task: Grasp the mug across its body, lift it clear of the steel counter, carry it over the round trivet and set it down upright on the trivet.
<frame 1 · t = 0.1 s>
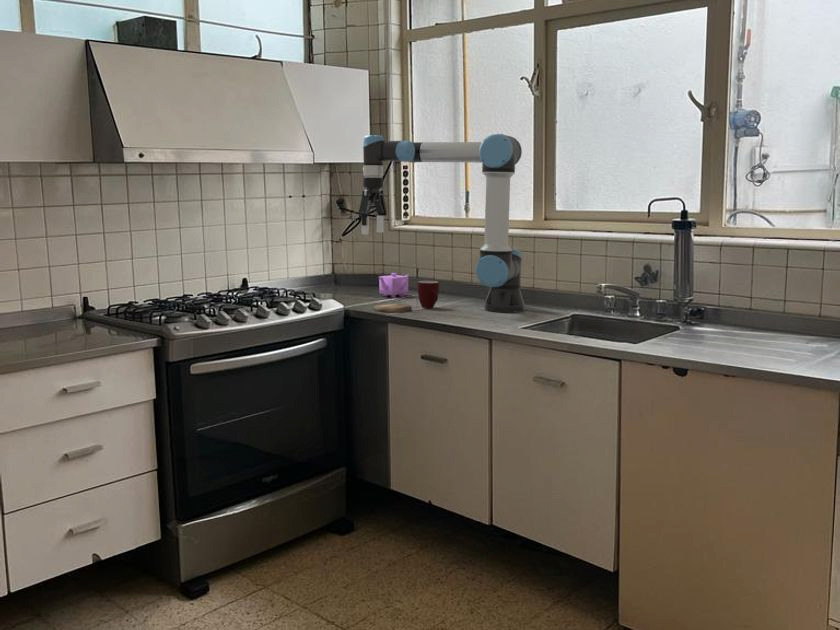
hand: (372, 233, 329), 28 cm above the worktop, fingers open, 13 cm apart
trivet: (392, 309, 324), on the worktop
mug: (429, 308, 330), on the worktop
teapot: (394, 296, 362), on the worktop
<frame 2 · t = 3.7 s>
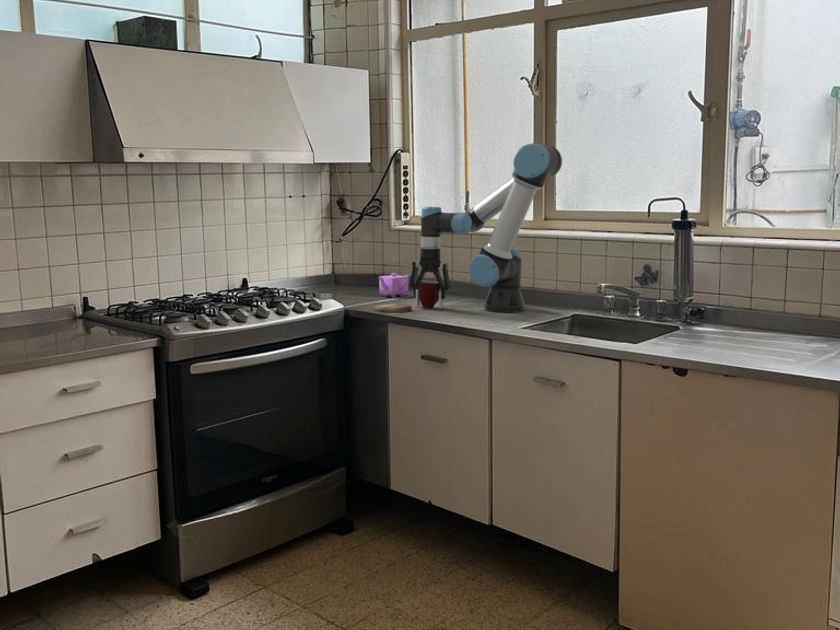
hand: (429, 306, 330), 1 cm above the worktop, fingers closed on mug, 9 cm apart
mug: (429, 308, 330), on the worktop, touching gripper
everything else where it was.
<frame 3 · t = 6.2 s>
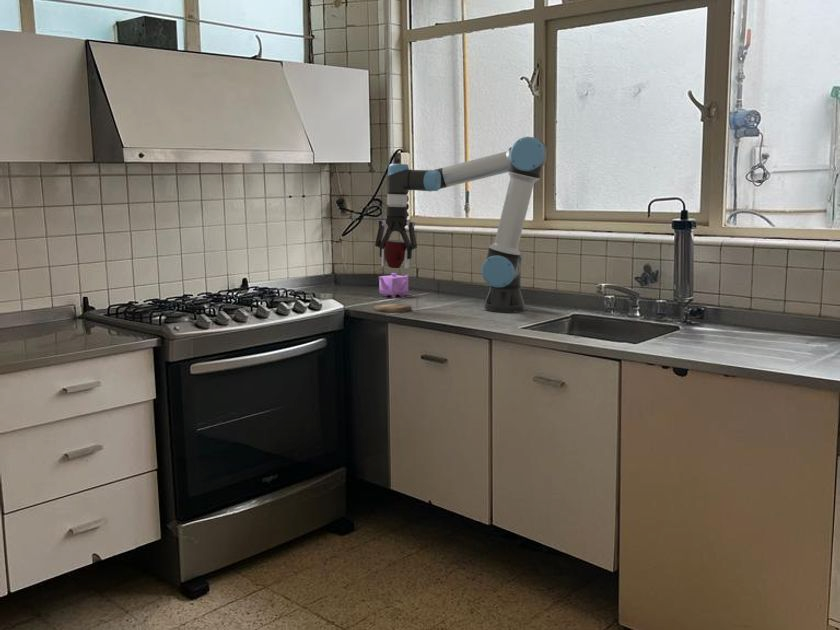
hand: (395, 266, 323), 16 cm above the worktop, fingers closed on mug, 9 cm apart
mug: (395, 268, 323), point 15 cm above the worktop, touching gripper
everything else where it was.
when the fingers open (3 cm above the worktop, at t = 9.1 s): mug drops 1 cm, resting on trivet.
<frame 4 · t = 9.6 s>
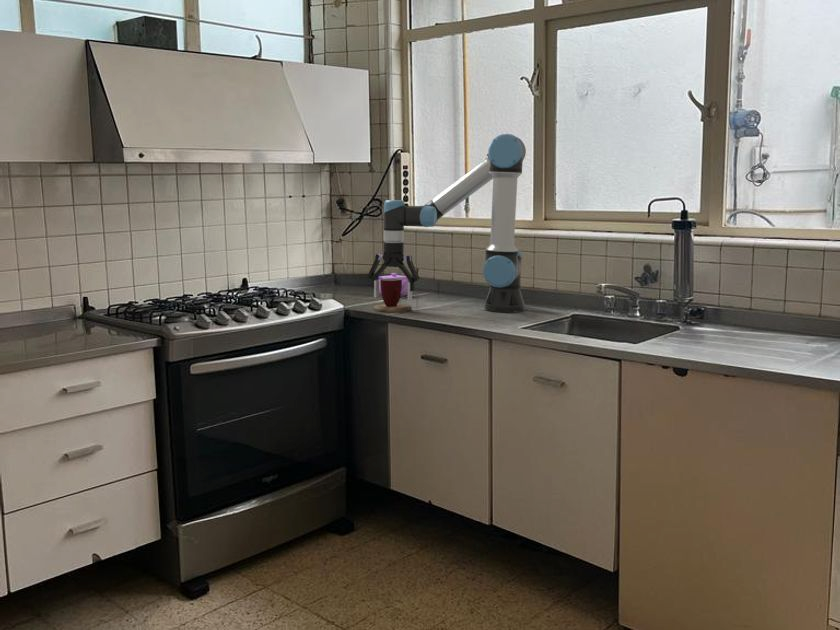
hand: (393, 298, 324), 4 cm above the worktop, fingers open, 13 cm apart
mug: (393, 306, 324), point 1 cm above the worktop, touching trivet
everything else where it was.
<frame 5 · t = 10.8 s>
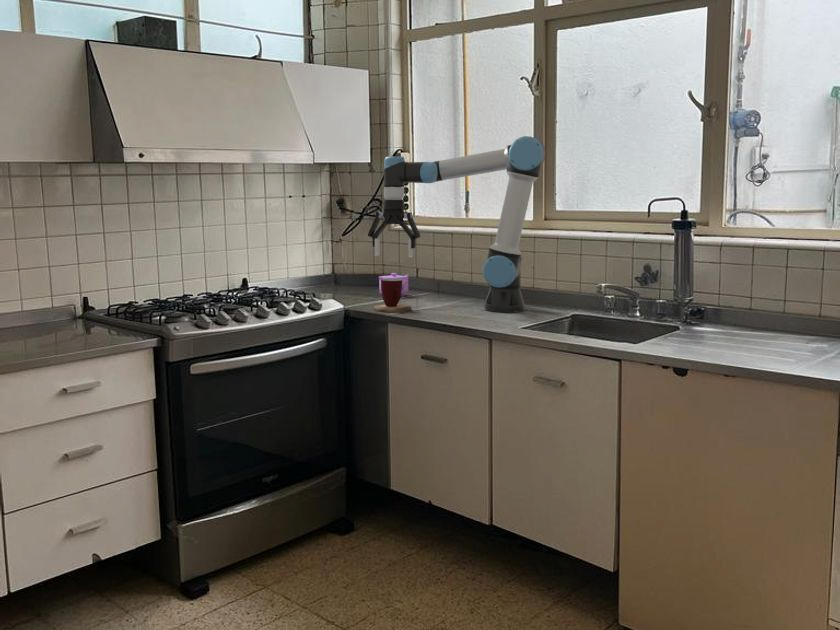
hand: (393, 256, 321), 20 cm above the worktop, fingers open, 13 cm apart
nothing on the worktop moved.
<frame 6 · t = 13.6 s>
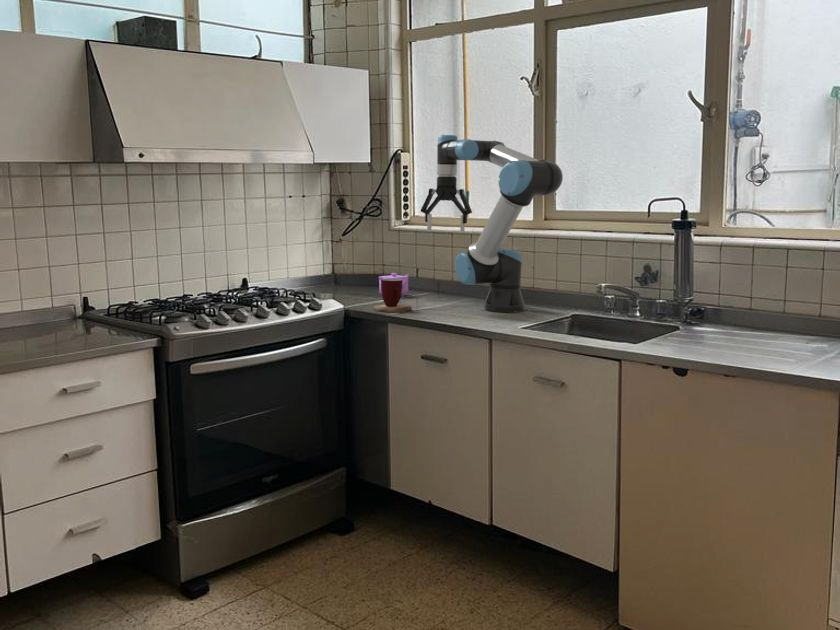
hand: (445, 231, 335), 29 cm above the worktop, fingers open, 13 cm apart
nothing on the worktop moved.
at the end: mug 0.1 cm from the trivet (horizontally); mug tilted 0°; mug touching trivet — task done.
